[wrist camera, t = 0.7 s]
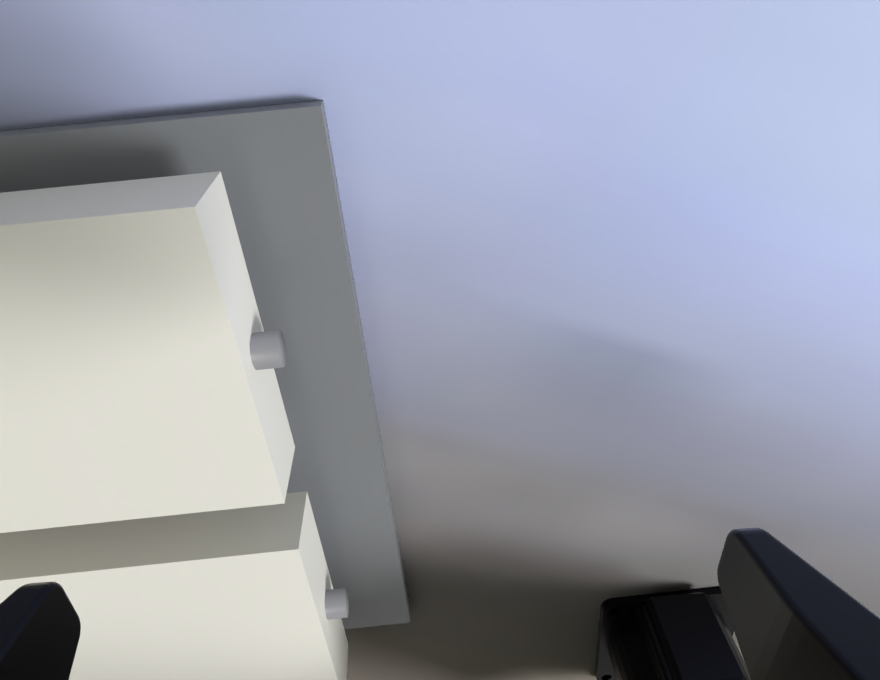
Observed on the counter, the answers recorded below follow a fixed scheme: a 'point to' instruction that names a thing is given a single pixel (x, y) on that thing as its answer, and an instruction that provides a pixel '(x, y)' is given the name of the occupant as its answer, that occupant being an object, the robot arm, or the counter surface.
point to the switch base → (272, 301)
